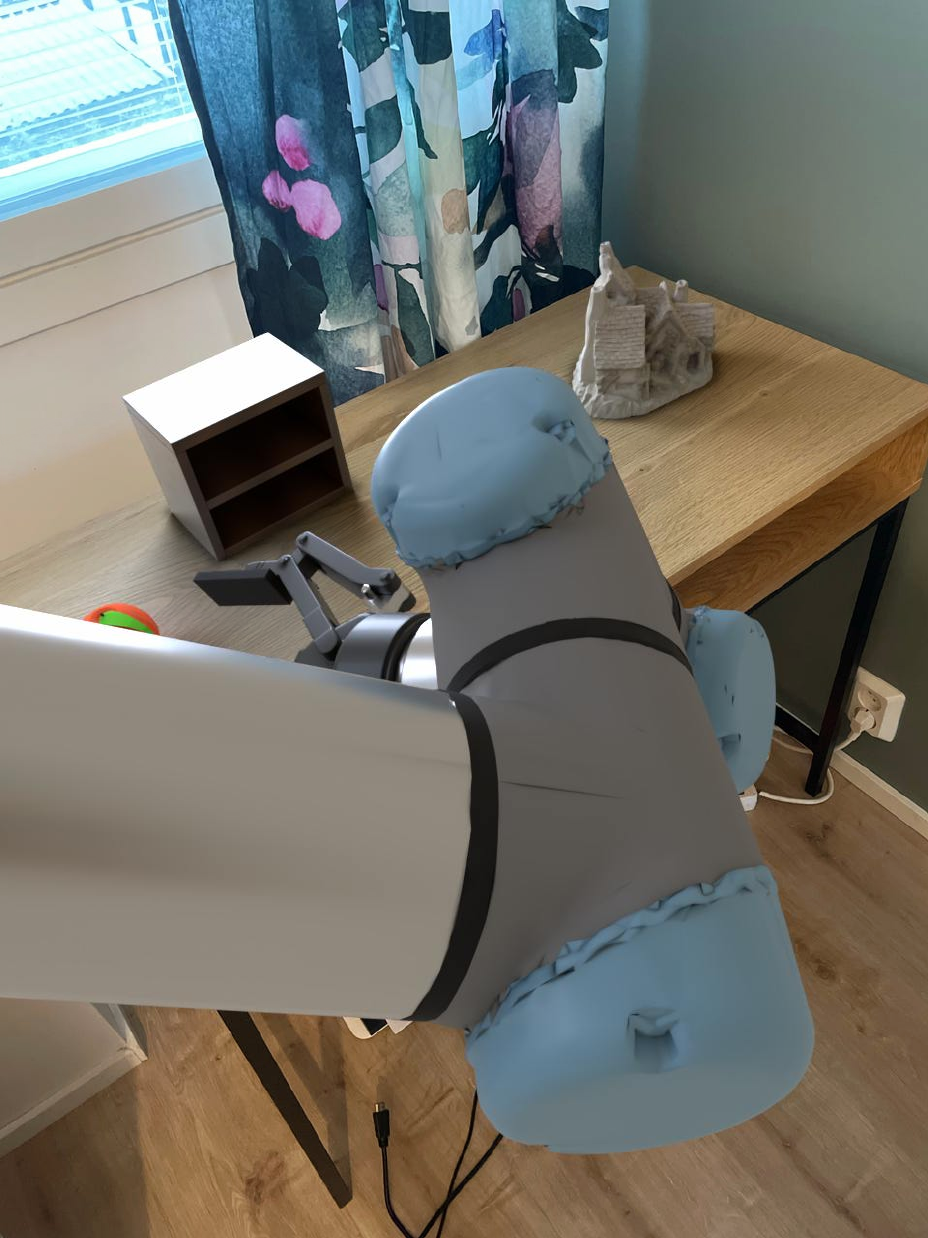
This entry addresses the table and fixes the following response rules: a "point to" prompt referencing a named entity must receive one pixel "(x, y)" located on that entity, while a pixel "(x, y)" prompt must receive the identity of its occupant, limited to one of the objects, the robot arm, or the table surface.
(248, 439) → the shelf
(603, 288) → the ceramic cottage
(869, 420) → the table surface
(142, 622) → the clementine
